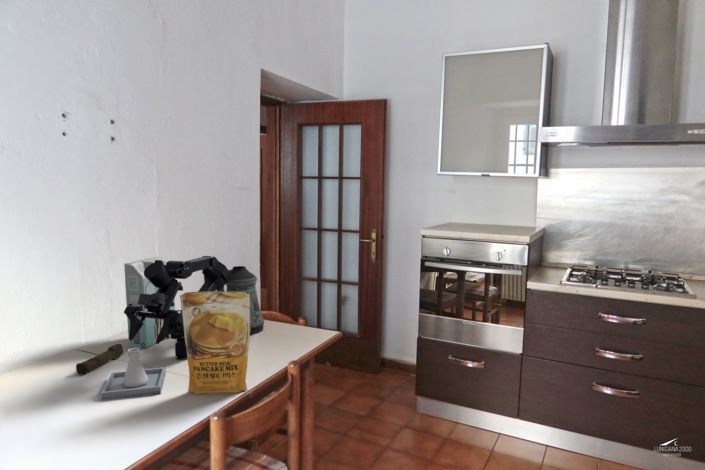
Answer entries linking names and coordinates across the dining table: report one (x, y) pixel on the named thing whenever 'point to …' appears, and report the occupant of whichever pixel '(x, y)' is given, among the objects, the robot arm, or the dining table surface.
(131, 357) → the flask
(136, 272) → the light blue box
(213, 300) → the pancake mix bag
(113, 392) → the parts tray
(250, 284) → the dark grey coffee pot
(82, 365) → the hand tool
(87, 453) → the dining table surface
